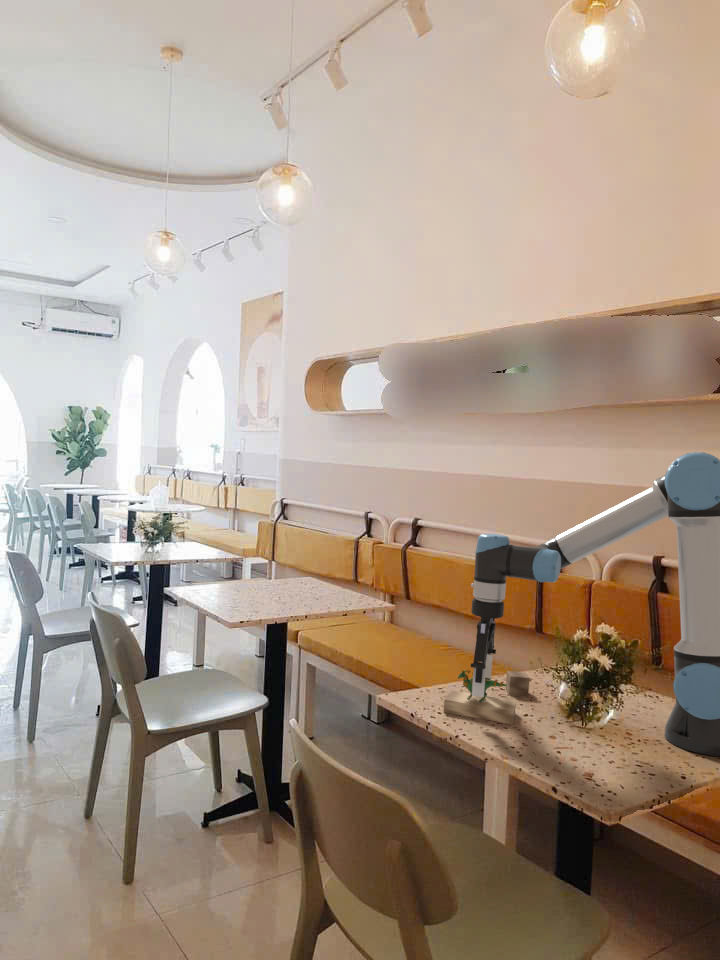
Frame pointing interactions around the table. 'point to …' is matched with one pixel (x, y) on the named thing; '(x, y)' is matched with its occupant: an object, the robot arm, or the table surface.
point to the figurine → (468, 683)
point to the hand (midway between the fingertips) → (481, 687)
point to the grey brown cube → (517, 683)
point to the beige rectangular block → (480, 707)
